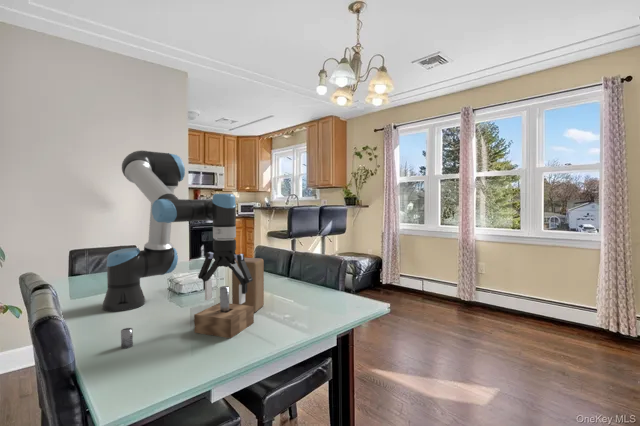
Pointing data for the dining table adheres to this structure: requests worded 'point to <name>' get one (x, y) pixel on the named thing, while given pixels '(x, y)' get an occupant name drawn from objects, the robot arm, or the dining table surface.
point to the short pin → (126, 338)
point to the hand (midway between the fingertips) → (225, 301)
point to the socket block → (224, 320)
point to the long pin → (224, 299)
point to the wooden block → (251, 284)
